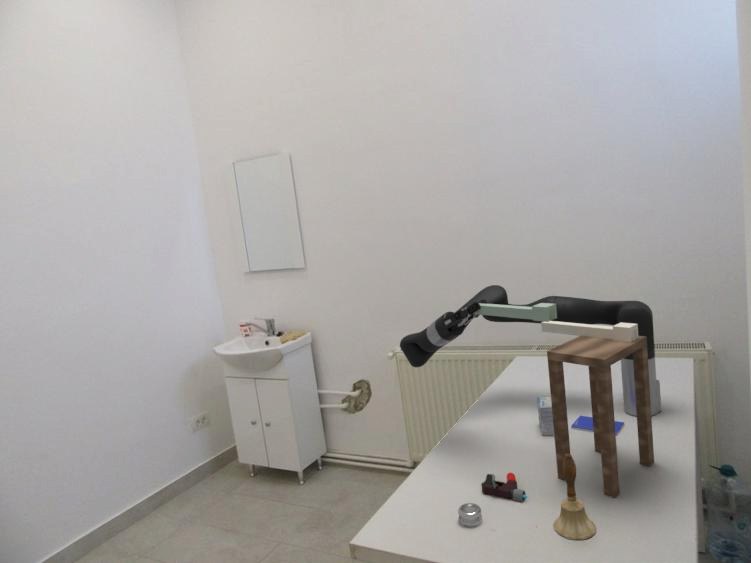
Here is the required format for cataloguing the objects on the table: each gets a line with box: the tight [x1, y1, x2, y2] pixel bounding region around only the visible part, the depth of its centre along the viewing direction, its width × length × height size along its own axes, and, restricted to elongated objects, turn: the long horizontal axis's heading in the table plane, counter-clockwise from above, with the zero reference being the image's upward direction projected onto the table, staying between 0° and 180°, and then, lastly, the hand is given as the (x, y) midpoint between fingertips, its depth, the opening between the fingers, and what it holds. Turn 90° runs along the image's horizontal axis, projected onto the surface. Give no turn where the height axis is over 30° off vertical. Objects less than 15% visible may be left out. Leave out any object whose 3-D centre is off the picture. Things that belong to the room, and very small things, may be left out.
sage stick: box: [473, 303, 557, 322], centre depth 135 cm, size 24×4×4 cm, turn 39°
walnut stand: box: [546, 336, 655, 499], centre depth 127 cm, size 14×20×32 cm
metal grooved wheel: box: [457, 502, 483, 528], centre depth 116 cm, size 5×3×5 cm
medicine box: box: [536, 396, 554, 436], centre depth 154 cm, size 8×4×9 cm, turn 168°
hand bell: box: [552, 453, 597, 541], centre depth 108 cm, size 8×8×16 cm
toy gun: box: [481, 472, 528, 503], centre depth 126 cm, size 10×12×5 cm
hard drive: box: [570, 414, 625, 437], centre depth 153 cm, size 2×8×12 cm
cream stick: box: [540, 321, 638, 343], centre depth 133 cm, size 24×4×4 cm, turn 39°
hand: (482, 303), depth 142 cm, fingers closed on sage stick, 2 cm apart
